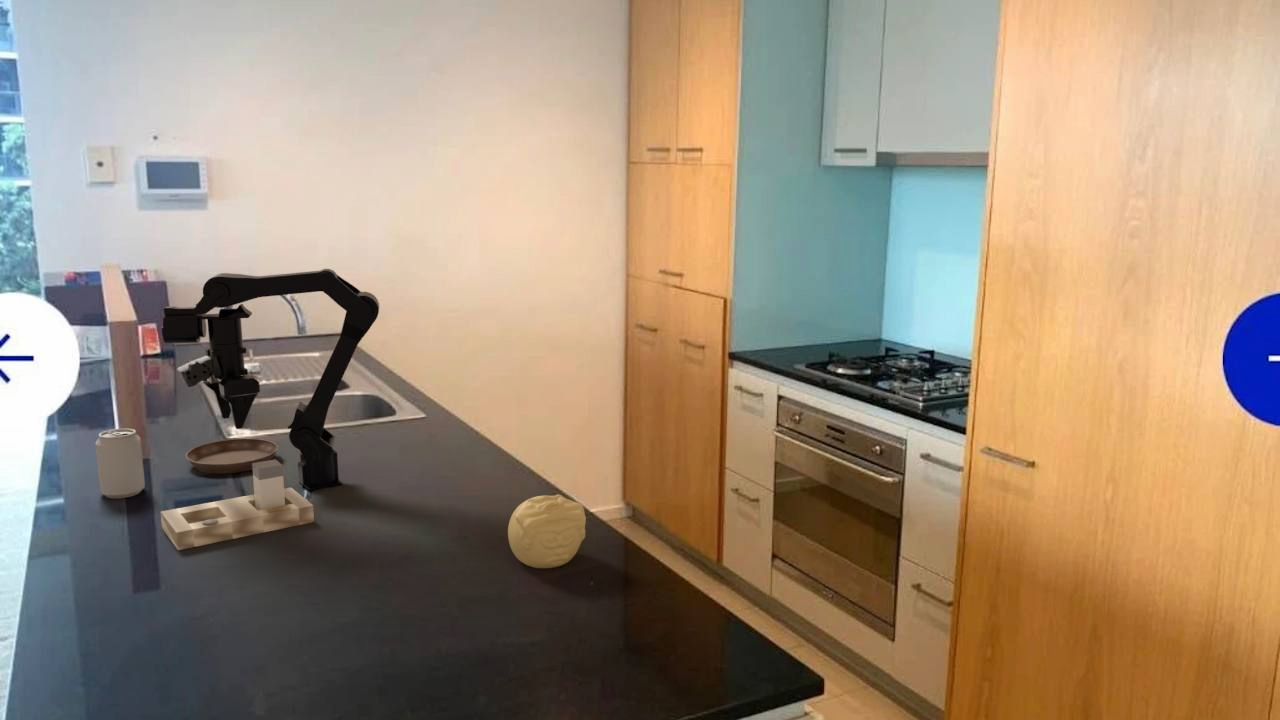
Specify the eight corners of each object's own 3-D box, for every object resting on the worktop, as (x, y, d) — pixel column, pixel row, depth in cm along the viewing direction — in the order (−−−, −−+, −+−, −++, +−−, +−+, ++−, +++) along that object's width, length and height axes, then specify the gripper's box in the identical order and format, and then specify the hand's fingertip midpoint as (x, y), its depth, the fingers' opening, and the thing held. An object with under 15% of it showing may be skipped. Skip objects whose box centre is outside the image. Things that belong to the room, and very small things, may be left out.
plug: (279, 513, 176) (275, 459, 174) (286, 519, 173) (282, 464, 171) (256, 517, 174) (252, 463, 172) (262, 524, 171) (258, 468, 169)
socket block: (292, 503, 181) (291, 486, 181) (314, 522, 172) (313, 504, 171) (162, 528, 169) (160, 510, 168) (178, 550, 159) (176, 531, 158)
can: (126, 501, 182) (120, 438, 180) (91, 498, 183) (84, 435, 181) (154, 488, 189) (148, 427, 187) (119, 485, 191) (113, 425, 188)
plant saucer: (273, 474, 199) (272, 459, 198) (178, 479, 195) (177, 465, 194) (283, 449, 216) (282, 436, 215) (196, 454, 212) (195, 441, 211)
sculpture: (525, 581, 148) (524, 513, 146) (498, 553, 159) (497, 489, 157) (594, 567, 153) (594, 501, 151) (564, 541, 164) (563, 479, 162)
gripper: (168, 339, 186) (175, 419, 189) (191, 354, 171) (198, 441, 174) (229, 333, 192) (235, 411, 196) (257, 347, 178) (263, 431, 181)
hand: (232, 423), depth 186 cm, fingers open, 9 cm apart
